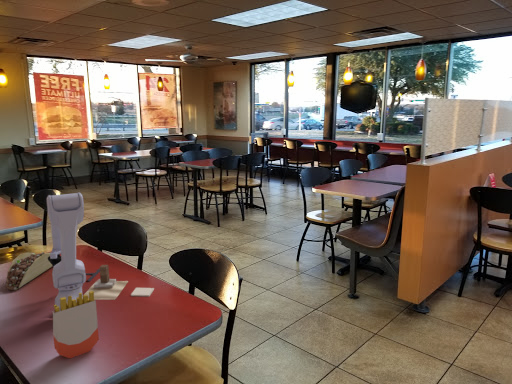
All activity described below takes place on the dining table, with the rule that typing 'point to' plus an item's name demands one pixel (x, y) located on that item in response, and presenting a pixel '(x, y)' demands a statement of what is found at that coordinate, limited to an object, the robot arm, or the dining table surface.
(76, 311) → the french fries container
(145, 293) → the tile
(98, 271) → the bracket
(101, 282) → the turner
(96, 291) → the board
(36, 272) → the taco
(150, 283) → the dining table surface
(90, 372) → the dining table surface
